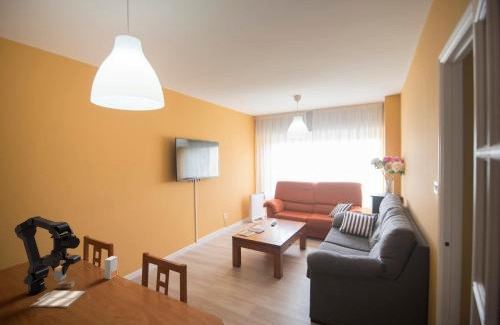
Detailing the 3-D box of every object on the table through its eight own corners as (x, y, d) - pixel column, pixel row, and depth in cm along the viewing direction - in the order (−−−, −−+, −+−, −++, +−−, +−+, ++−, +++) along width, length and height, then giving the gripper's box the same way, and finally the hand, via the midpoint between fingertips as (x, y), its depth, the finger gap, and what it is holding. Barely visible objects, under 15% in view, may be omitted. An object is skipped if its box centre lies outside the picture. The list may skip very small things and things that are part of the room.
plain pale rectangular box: (57, 288, 132) (57, 284, 132) (61, 285, 135) (61, 281, 135) (71, 287, 133) (71, 283, 133) (74, 284, 136) (74, 280, 136)
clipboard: (28, 306, 116) (28, 304, 116) (53, 290, 130) (53, 288, 130) (67, 307, 115) (67, 305, 115) (87, 291, 129) (87, 289, 129)
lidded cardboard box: (54, 280, 123) (54, 268, 123) (59, 277, 127) (59, 265, 126) (60, 280, 123) (60, 268, 123) (66, 277, 127) (66, 265, 126)
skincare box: (110, 279, 142) (110, 260, 141) (104, 278, 143) (104, 259, 142) (117, 274, 148) (117, 256, 147) (112, 274, 148) (111, 255, 148)
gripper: (28, 252, 116) (28, 282, 117) (65, 253, 116) (65, 283, 117) (48, 243, 127) (48, 271, 128) (81, 244, 127) (81, 272, 128)
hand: (60, 274), depth 125 cm, fingers closed on lidded cardboard box, 4 cm apart
